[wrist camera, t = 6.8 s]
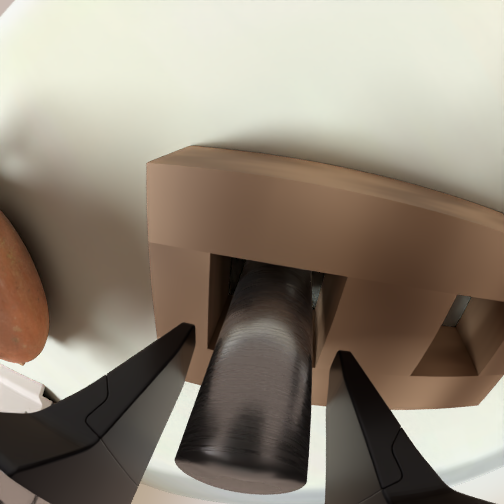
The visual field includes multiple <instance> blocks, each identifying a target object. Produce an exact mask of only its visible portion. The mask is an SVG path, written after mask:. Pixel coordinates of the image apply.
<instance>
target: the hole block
mask: <svg viewBox="0 0 504 504" xmlns="http://www.w3.org/2000/svg"><path fill="white" fill-rule="evenodd" d="M147 226H148V247H149V262H150V275H151V287H152V297H153V306H154V315H155V324H156V331H157V339H159V338H160V337H162V336H163V335H165V334H166V333H168V332H169V331H170V330H172V329H173V328H175V327H176V326H178V325H179V324H181V323H183V322H186V323H190V324H194V325H195V328H196V345H195V349H194V352H193V356H192V359H191V362H190V365H189V369H188V372H187V375H186V379H185V381H187V382H190V383H194V384H198V385H201V384H202V381H203V379H204V376H205V373H206V370H207V368H208V365H209V362H210V359H211V356H212V354H213V351H214V348H215V345H216V343H217V340H218V337H219V334H220V331H221V329H222V326H223V323H224V320H225V318H226V315H227V312H228V309H229V306H230V304H231V301H232V298H233V295H229V294H228V292H229V280H230V268H231V257H235V258H241V259H247V260H252V261H258V262H264V263H270V264H275V265H281V266H287V267H293V268H299V269H305V270H311V271H316V272H322V273H325V275H324V279H323V282H322V286H321V289H320V293H319V296H318V300H317V303H316V307H315V309H312V328H313V346H312V399H311V405H319V406H326V405H327V394H328V383H329V372H330V367H331V365H332V362H333V360H334V358H335V355H336V353H337V352H338V351H339V350H345V351H350V352H351V353H352V354H353V356H354V357H355V359H356V360H357V361H358V363H359V364H360V366H361V367H362V369H363V370H364V372H365V373H366V375H367V376H368V378H369V379H370V381H371V382H372V384H373V385H374V386H375V388H376V389H377V391H378V392H379V394H380V395H381V397H382V398H383V400H384V401H385V403H386V404H387V406H388V407H389V409H390V410H415V409H440V408H455V407H466V406H476V405H479V403H480V402H481V401H482V400H483V399H484V398H485V397H486V396H487V394H488V393H489V392H490V391H491V390H492V389H493V387H494V386H495V385H496V384H497V382H498V381H499V380H500V379H501V377H502V376H503V375H504V214H503V213H501V212H498V211H495V210H493V209H490V208H487V207H484V206H481V205H479V204H476V203H473V202H470V201H467V200H464V199H461V198H458V197H455V196H452V195H448V194H445V193H442V192H439V191H435V190H432V189H429V188H425V187H422V186H418V185H414V184H411V183H407V182H403V181H400V180H396V179H392V178H388V177H384V176H380V175H375V174H371V173H367V172H362V171H358V170H353V169H349V168H344V167H339V166H334V165H329V164H324V163H319V162H313V161H307V160H302V159H296V158H290V157H283V156H277V155H270V154H263V153H256V152H248V151H240V150H231V149H222V148H212V147H201V146H188V147H186V148H183V149H180V150H178V151H175V152H172V153H170V154H167V155H165V156H162V157H160V158H157V159H155V160H152V161H150V162H148V163H147ZM457 295H463V296H470V297H471V299H470V301H469V303H468V305H467V307H466V309H465V311H464V313H463V314H462V316H461V318H460V320H459V322H458V323H457V325H456V327H448V326H441V325H442V323H443V321H444V319H445V318H446V316H447V314H448V312H449V310H450V308H451V306H452V304H453V302H454V300H455V298H456V296H457Z"/></svg>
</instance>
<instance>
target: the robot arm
mask: <svg viewBox="0 0 504 504" xmlns="http://www.w3.org/2000/svg"><path fill="white" fill-rule="evenodd" d="M195 345H196V328H195V325H194V324H190V323H186V322H183V323H181V324H179V325H178V326H176V327H175V328H173V329H172V330H170V331H169V332H168V333H166V334H165V335H163V336H162V337H160V338H159V339H157V340H156V341H155V342H153V343H152V344H150V345H149V346H147V347H146V348H144V349H143V350H141V351H140V352H138V353H137V354H136V355H134V356H133V357H131V358H130V359H128V360H127V361H125V362H124V363H122V364H121V365H119V366H118V367H116V368H115V369H113V370H112V371H110V372H109V373H107V375H104V376H103V377H101V378H100V379H98V380H97V381H95V382H94V383H92V384H90V385H89V386H87V387H86V388H84V389H82V390H80V391H78V392H77V393H75V394H73V395H71V396H69V397H67V398H65V399H63V400H61V401H59V402H57V403H55V404H53V405H51V406H49V407H47V408H45V409H42V410H40V411H37V412H32V413H9V412H0V504H131V502H132V500H133V497H134V495H135V493H136V491H137V488H138V487H137V486H139V484H140V481H141V479H142V477H143V475H144V472H145V470H146V468H147V466H148V463H149V461H150V459H151V457H152V454H153V452H154V450H155V448H156V445H157V443H158V441H159V439H160V437H161V434H162V432H163V430H164V428H165V425H166V423H167V421H168V419H169V417H170V414H171V412H172V410H173V408H174V406H175V403H176V401H177V399H178V397H179V394H180V392H181V390H182V387H183V385H184V382H185V379H186V375H187V372H188V369H189V365H190V362H191V359H192V356H193V352H194V349H195ZM400 427H401V425H400V424H399V422H398V421H397V419H396V418H395V416H394V415H393V413H392V412H391V410H390V409H389V407H388V406H387V404H386V403H385V401H384V400H383V398H382V397H381V395H380V394H379V392H378V391H377V389H376V388H375V386H374V385H373V384H372V382H371V381H370V379H369V378H368V376H367V375H366V373H365V372H364V370H363V369H362V367H361V366H360V364H359V363H358V361H357V360H356V359H355V357H354V356H353V354H352V353H351V352H350V351H345V350H339V351H338V352H337V353H336V355H335V358H334V360H333V362H332V365H331V367H330V372H329V383H328V394H327V405H326V489H325V504H496V503H492V502H488V501H485V500H482V499H478V498H475V497H472V496H468V495H465V494H463V493H459V492H457V491H454V490H453V489H451V488H450V487H449V486H448V485H446V484H445V483H444V482H443V481H442V479H441V478H440V477H439V476H438V475H437V473H436V472H435V471H434V470H433V468H432V467H431V466H430V465H429V464H428V462H427V461H426V460H425V459H424V458H423V456H422V455H421V454H420V453H419V451H418V450H417V449H416V447H415V446H414V445H413V443H412V442H411V440H410V439H409V437H408V436H407V434H406V433H405V431H404V430H403V428H400Z"/></svg>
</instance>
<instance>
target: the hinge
mask: <svg viewBox="0 0 504 504" xmlns="http://www.w3.org/2000/svg"><path fill="white" fill-rule="evenodd" d="M44 388H45V386H44V385H43V384H41V383H39V382H37V381H35V380H32V379H30V378H28V377H26V376H24V375H22V374H20V373H18V372H16V371H14V370H12V369H10V368H8V367H6V366H4V365H2V364H0V412H9V413H32V412H37V411H40V410H42V409H45V408H47V407H49V406H51V405H53V404H55V403H53V402H52V401H50V400H49V399H47V398H45V397H43V396H42V395H43V392H44Z"/></svg>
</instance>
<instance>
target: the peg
mask: <svg viewBox="0 0 504 504" xmlns="http://www.w3.org/2000/svg"><path fill="white" fill-rule="evenodd" d="M312 346H313V328H312V273H311V270H305V269H299V268H293V267H287V266H281V265H275V264H270V263H264V262H258V261H252V260H247V259H246V262H245V265H244V268H243V270H242V273H241V276H240V279H239V282H238V284H237V287H236V290H235V293H234V295H233V298H232V301H231V304H230V306H229V309H228V312H227V315H226V318H225V320H224V323H223V326H222V329H221V331H220V334H219V337H218V340H217V343H216V345H215V348H214V351H213V354H212V356H211V359H210V362H209V365H208V368H207V370H206V373H205V376H204V379H203V381H202V384H201V387H200V390H199V393H198V395H197V398H196V401H195V404H194V407H193V409H192V412H191V415H190V418H189V421H188V423H187V426H186V429H185V432H184V435H183V437H182V440H181V443H180V446H179V449H178V451H177V454H176V457H175V463H176V465H177V466H178V467H179V468H180V469H181V470H182V471H183V472H184V473H186V474H187V475H189V476H191V477H193V478H194V479H196V480H199V481H201V482H203V483H206V484H208V485H211V486H214V487H218V488H221V489H225V490H229V491H234V492H240V493H247V494H263V495H266V494H281V493H287V492H292V491H295V490H298V489H300V488H302V487H303V486H304V485H305V484H306V482H307V471H308V458H309V442H310V424H311V399H312Z"/></svg>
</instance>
